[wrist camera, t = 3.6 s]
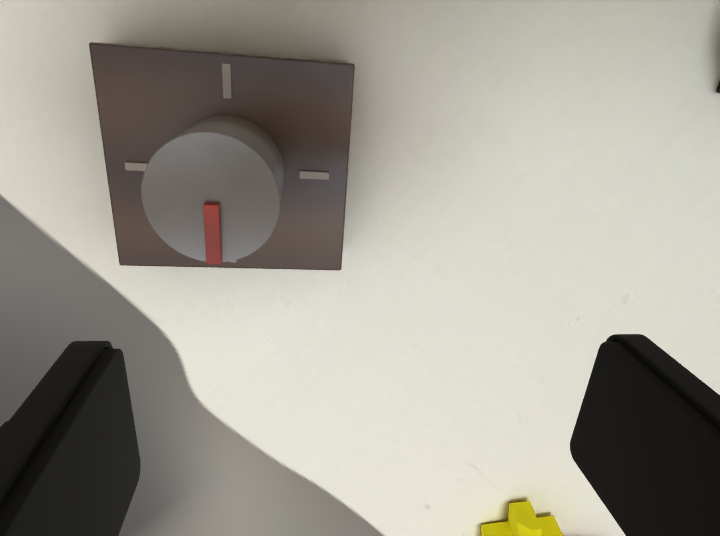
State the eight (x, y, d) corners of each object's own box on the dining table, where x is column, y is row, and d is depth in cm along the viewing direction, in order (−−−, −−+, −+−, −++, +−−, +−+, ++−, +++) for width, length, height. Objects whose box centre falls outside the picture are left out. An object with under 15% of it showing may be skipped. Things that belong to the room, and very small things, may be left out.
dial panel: (110, 43, 22) (86, 42, 19) (349, 62, 23) (355, 64, 21) (135, 247, 26) (117, 267, 23) (337, 252, 27) (341, 272, 25)
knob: (169, 111, 21) (130, 128, 16) (285, 118, 22) (280, 137, 17) (178, 220, 23) (146, 264, 18) (283, 223, 24) (279, 267, 19)
